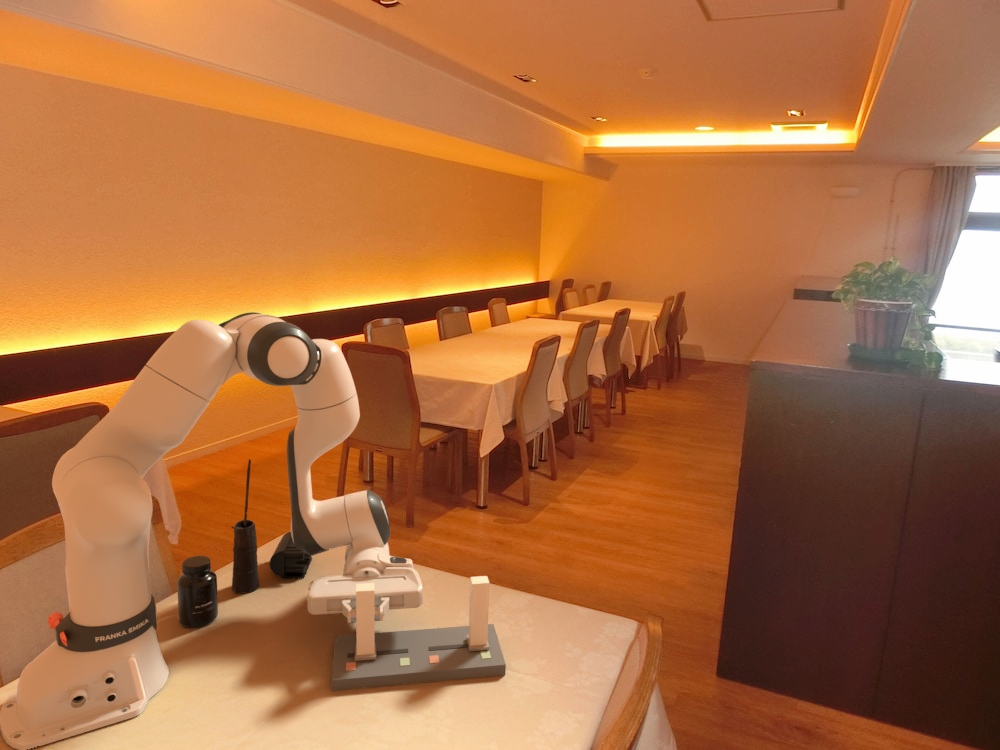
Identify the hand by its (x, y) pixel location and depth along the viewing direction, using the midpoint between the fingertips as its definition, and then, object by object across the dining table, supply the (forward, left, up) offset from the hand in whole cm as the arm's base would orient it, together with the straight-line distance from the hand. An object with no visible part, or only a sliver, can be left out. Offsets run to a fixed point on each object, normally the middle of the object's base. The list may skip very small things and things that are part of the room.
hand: (365, 618), depth 109 cm
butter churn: (-7, +38, -10) cm, 39 cm away
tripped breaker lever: (0, +1, -7) cm, 7 cm away
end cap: (+5, +40, -10) cm, 41 cm away
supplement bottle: (-17, +33, -10) cm, 38 cm away
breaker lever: (+17, -10, -7) cm, 21 cm away
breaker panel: (+8, -4, -9) cm, 13 cm away
